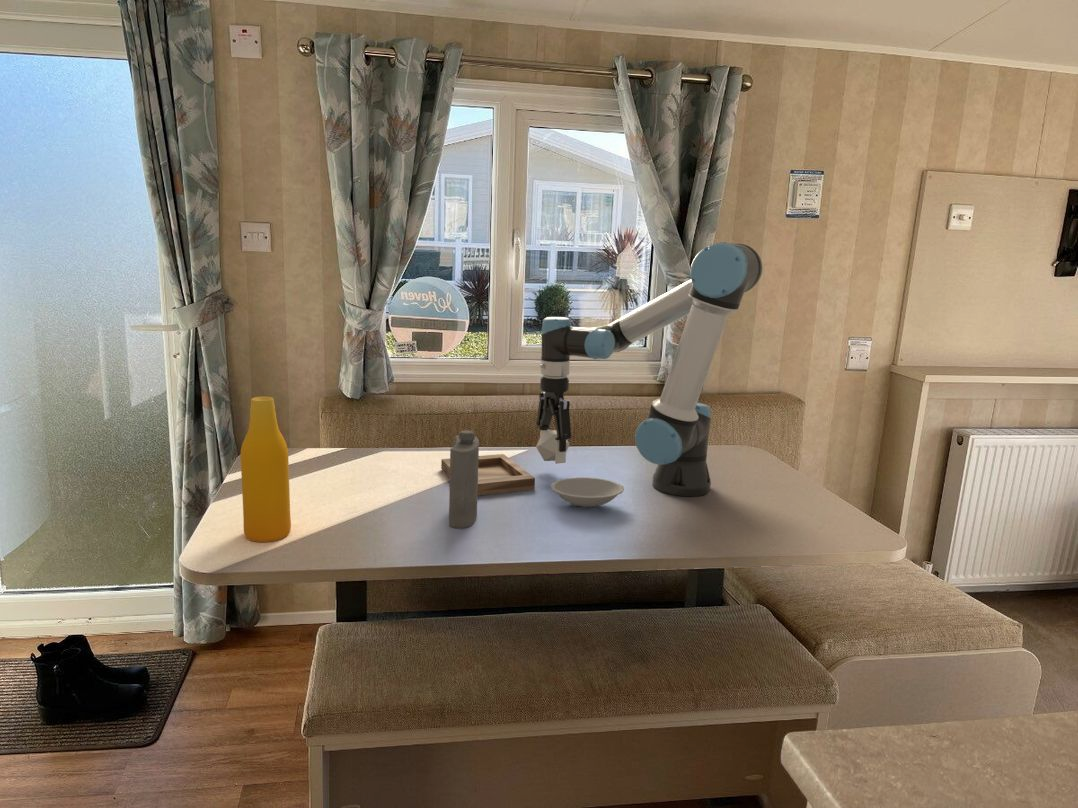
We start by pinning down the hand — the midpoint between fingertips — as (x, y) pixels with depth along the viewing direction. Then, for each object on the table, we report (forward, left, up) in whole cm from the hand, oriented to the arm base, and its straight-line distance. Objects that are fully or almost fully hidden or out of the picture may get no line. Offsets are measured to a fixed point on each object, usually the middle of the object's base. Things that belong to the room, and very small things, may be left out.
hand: (552, 457), depth 200 cm
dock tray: (+1, +18, -5) cm, 19 cm away
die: (0, 0, -1) cm, 1 cm away
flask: (-22, +32, -5) cm, 39 cm away
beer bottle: (-19, +74, -5) cm, 77 cm away
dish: (-25, +2, -5) cm, 25 cm away
